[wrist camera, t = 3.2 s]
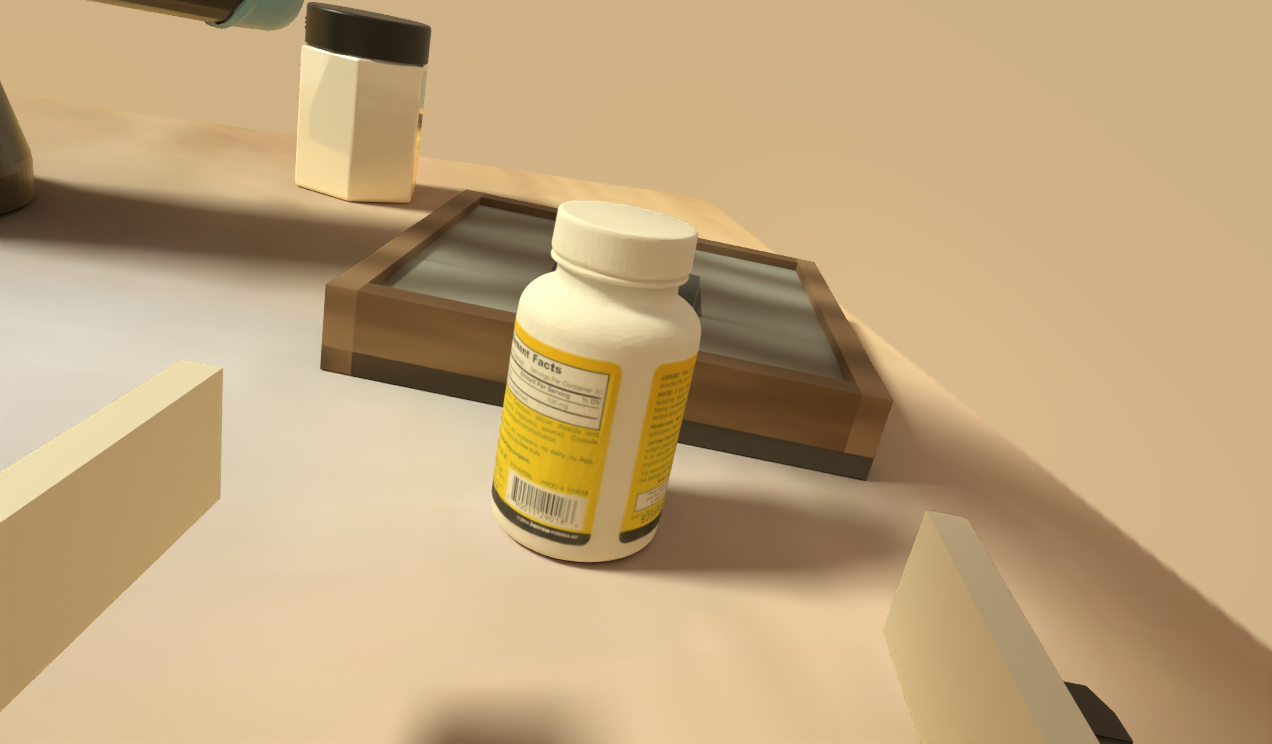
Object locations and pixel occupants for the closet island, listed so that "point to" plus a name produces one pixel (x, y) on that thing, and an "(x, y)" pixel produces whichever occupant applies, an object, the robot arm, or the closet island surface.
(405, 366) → the bore box
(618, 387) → the supplement bottle
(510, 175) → the closet island surface
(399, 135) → the jar
